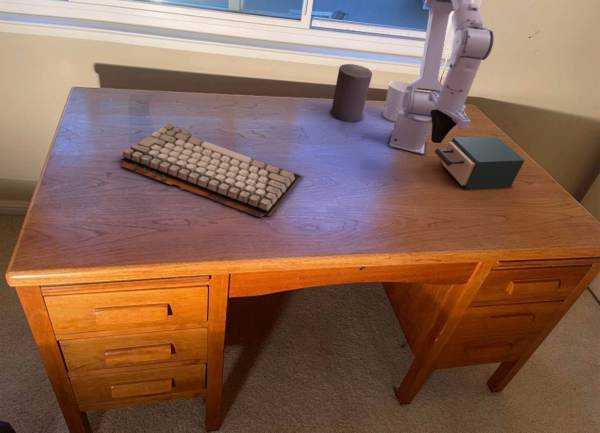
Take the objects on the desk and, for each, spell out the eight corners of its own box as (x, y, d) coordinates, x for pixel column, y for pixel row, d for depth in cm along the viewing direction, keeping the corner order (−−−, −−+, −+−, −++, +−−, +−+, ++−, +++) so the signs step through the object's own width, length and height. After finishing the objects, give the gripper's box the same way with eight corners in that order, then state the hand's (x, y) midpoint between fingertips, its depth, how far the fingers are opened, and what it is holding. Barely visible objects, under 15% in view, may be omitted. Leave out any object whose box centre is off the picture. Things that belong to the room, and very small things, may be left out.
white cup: (407, 115, 137) (417, 85, 131) (404, 125, 131) (413, 94, 125) (383, 108, 138) (391, 78, 132) (378, 118, 132) (387, 87, 126)
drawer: (444, 186, 105) (453, 164, 101) (424, 163, 113) (432, 142, 109) (503, 183, 110) (514, 162, 106) (480, 161, 118) (489, 140, 114)
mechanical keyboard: (301, 176, 102) (303, 164, 100) (266, 222, 88) (268, 209, 86) (164, 131, 110) (163, 119, 108) (113, 166, 96) (110, 153, 94)
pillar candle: (324, 111, 131) (332, 62, 122) (344, 104, 137) (354, 57, 128) (348, 124, 126) (359, 74, 117) (368, 116, 132) (380, 68, 123)
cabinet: (465, 189, 107) (478, 162, 102) (442, 164, 116) (452, 137, 111) (510, 187, 111) (525, 160, 106) (484, 162, 120) (497, 136, 114)
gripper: (491, 101, 90) (466, 157, 98) (454, 73, 100) (435, 126, 109) (462, 101, 88) (440, 158, 96) (428, 73, 98) (411, 126, 107)
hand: (436, 141), depth 103 cm, fingers closed
